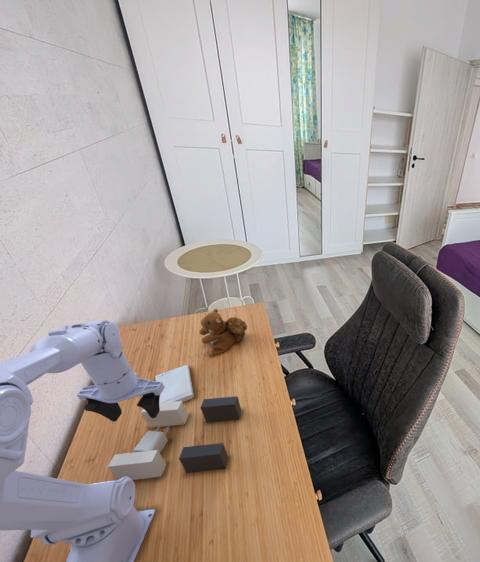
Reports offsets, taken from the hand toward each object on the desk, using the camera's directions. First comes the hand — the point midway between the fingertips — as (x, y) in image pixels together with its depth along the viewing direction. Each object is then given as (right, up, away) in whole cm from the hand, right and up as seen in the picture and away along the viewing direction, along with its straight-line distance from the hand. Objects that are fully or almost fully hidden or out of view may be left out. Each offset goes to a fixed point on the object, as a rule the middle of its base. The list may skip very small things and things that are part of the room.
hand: (136, 415), depth 62 cm
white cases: (+2, -9, +4) cm, 10 cm away
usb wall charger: (+2, -9, +4) cm, 10 cm away
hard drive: (-4, -1, +17) cm, 18 cm away
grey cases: (+14, -9, +6) cm, 18 cm away
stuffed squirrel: (+2, +9, +34) cm, 35 cm away
